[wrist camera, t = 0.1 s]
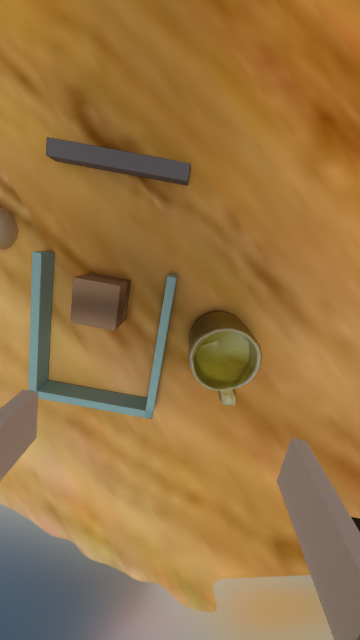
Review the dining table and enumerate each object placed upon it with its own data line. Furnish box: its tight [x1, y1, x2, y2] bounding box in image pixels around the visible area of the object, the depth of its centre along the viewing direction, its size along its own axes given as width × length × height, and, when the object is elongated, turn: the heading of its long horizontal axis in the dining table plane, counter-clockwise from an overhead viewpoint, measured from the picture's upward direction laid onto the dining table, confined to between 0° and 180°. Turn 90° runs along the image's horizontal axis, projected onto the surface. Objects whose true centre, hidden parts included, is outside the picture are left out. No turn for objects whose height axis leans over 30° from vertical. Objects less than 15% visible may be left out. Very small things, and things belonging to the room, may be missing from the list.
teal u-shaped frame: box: [28, 251, 178, 419], centre depth 41 cm, size 22×19×4 cm
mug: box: [189, 311, 261, 405], centre depth 38 cm, size 12×10×10 cm
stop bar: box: [46, 137, 191, 185], centre depth 35 cm, size 2×18×2 cm, turn 80°
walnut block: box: [70, 273, 131, 330], centre depth 38 cm, size 6×6×6 cm
